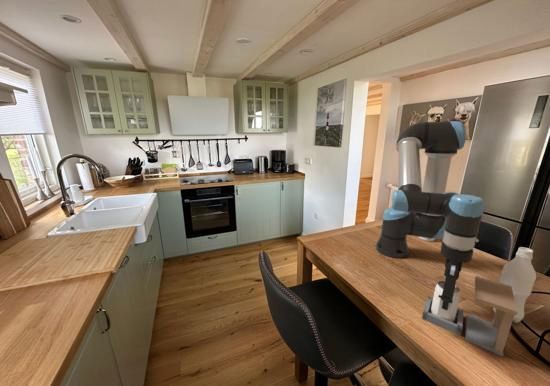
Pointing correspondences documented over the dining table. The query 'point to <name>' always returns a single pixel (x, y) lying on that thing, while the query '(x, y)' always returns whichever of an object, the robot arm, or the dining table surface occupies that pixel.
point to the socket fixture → (479, 329)
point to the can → (436, 299)
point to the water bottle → (519, 279)
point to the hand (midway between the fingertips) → (444, 303)
